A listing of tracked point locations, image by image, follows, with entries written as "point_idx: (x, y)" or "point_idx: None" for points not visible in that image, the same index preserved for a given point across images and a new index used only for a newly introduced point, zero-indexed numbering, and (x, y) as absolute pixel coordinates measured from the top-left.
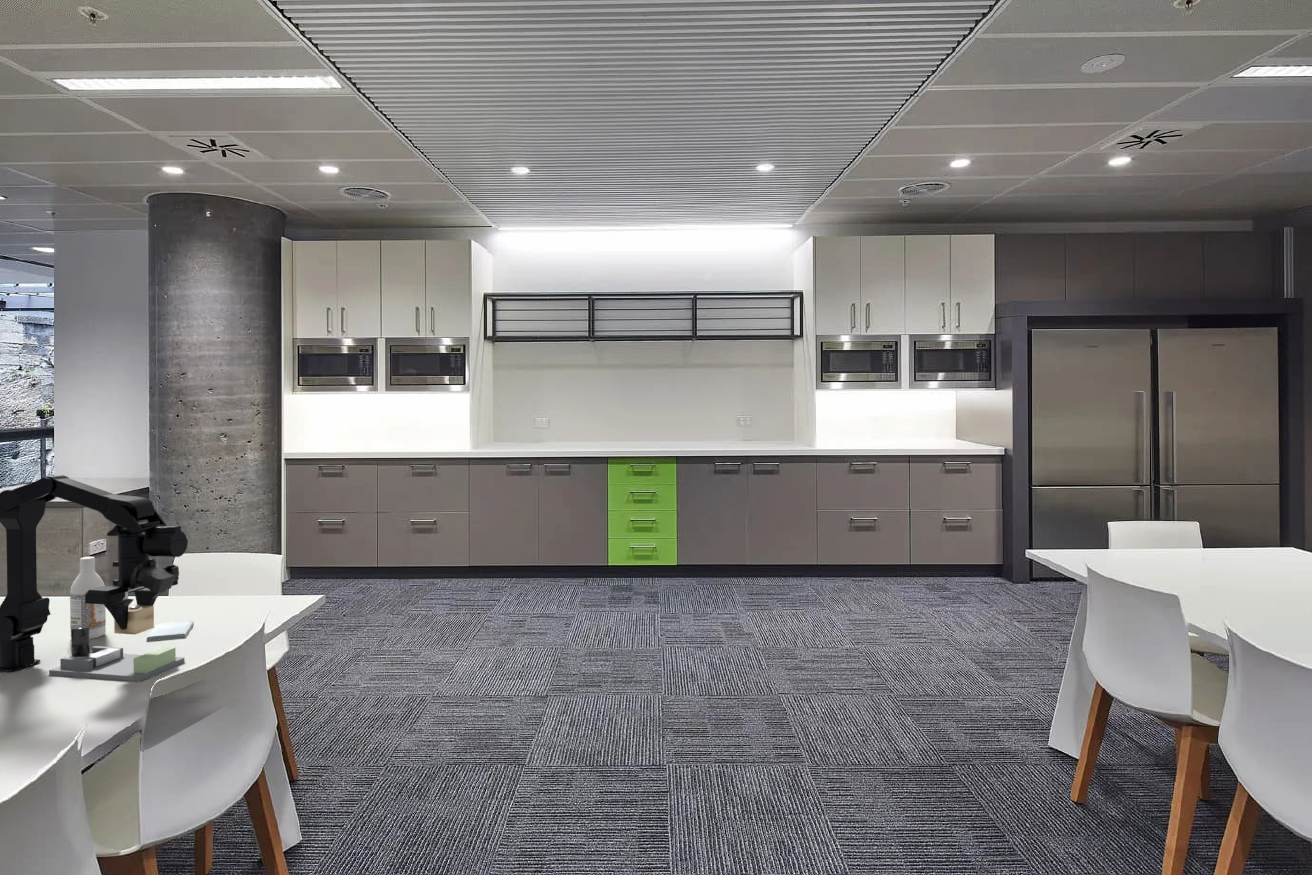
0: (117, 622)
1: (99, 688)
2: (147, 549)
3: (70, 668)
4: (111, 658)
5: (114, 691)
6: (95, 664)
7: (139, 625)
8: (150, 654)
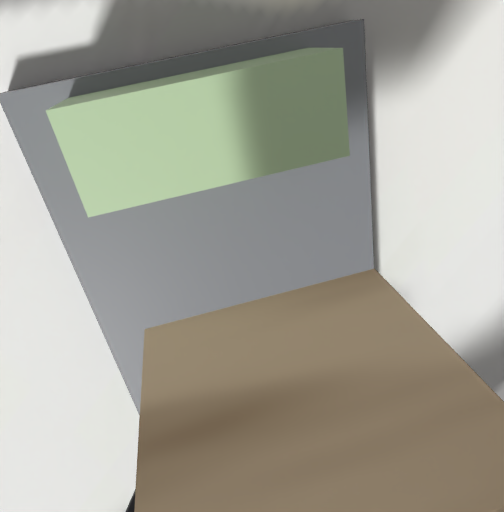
0: None
1: (463, 132)
2: None
3: None
4: None
5: (492, 13)
6: None
7: (355, 326)
8: (249, 131)
